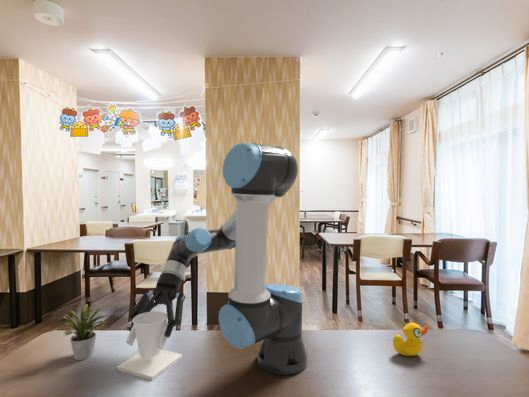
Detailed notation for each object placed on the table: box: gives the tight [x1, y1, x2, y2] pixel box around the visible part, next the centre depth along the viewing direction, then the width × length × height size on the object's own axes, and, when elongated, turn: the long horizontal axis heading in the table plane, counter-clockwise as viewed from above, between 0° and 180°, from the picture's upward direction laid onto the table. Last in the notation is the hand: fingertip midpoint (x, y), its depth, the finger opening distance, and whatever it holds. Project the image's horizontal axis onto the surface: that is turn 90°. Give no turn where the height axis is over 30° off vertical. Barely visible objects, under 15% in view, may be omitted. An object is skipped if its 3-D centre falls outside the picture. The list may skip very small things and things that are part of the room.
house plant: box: [59, 303, 111, 361], centre depth 99 cm, size 14×14×16 cm
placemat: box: [116, 349, 183, 381], centre depth 97 cm, size 13×13×1 cm
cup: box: [131, 310, 168, 358], centre depth 97 cm, size 10×10×11 cm
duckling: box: [392, 322, 429, 357], centre depth 102 cm, size 11×5×10 cm, turn 98°
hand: (144, 345), depth 93 cm, fingers closed on cup, 9 cm apart
